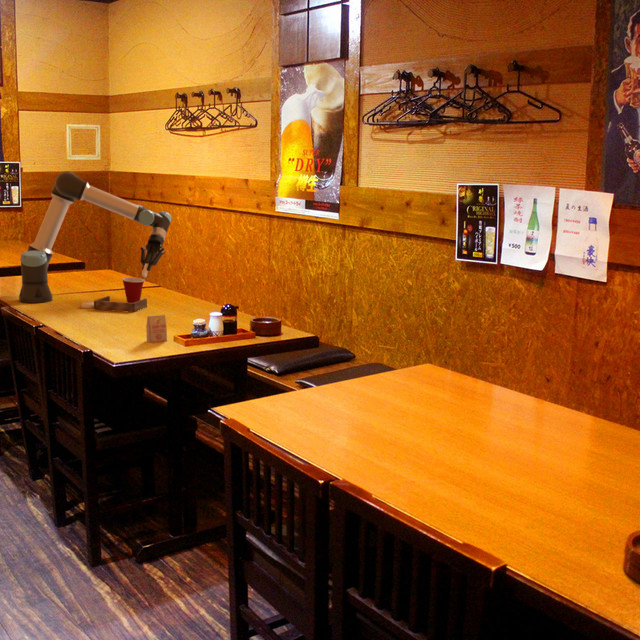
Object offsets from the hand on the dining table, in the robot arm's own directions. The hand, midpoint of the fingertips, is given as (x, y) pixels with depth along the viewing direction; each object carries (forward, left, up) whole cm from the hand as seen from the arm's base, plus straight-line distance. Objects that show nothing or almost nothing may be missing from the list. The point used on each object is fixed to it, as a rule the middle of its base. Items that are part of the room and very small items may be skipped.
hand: (143, 275), depth 373 cm
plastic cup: (-1, -10, -12) cm, 16 cm away
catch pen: (-1, -24, -12) cm, 26 cm away
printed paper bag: (+42, -78, -12) cm, 90 cm away
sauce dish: (-15, -25, -12) cm, 32 cm away
